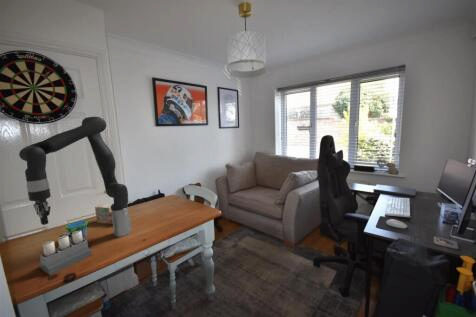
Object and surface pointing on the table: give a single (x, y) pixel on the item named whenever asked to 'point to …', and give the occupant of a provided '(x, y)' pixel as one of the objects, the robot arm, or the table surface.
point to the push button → (67, 235)
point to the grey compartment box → (64, 257)
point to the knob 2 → (77, 237)
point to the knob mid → (63, 243)
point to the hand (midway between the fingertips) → (44, 223)
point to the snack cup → (77, 228)
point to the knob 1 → (49, 248)
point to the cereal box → (104, 213)
